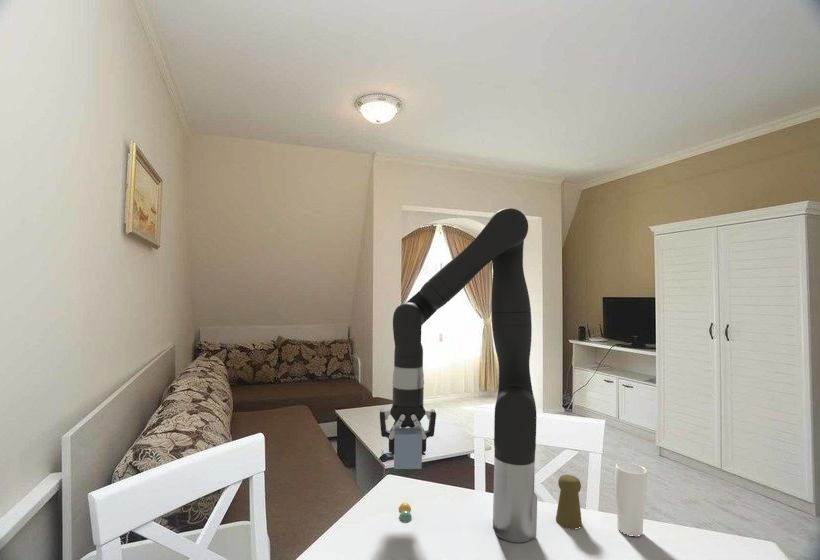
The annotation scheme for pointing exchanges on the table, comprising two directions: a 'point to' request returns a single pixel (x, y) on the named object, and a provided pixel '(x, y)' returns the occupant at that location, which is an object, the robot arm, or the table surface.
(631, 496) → the drinking glass
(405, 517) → the green marble
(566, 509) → the cork
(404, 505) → the amber marble
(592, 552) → the table surface
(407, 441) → the blue-grey block
